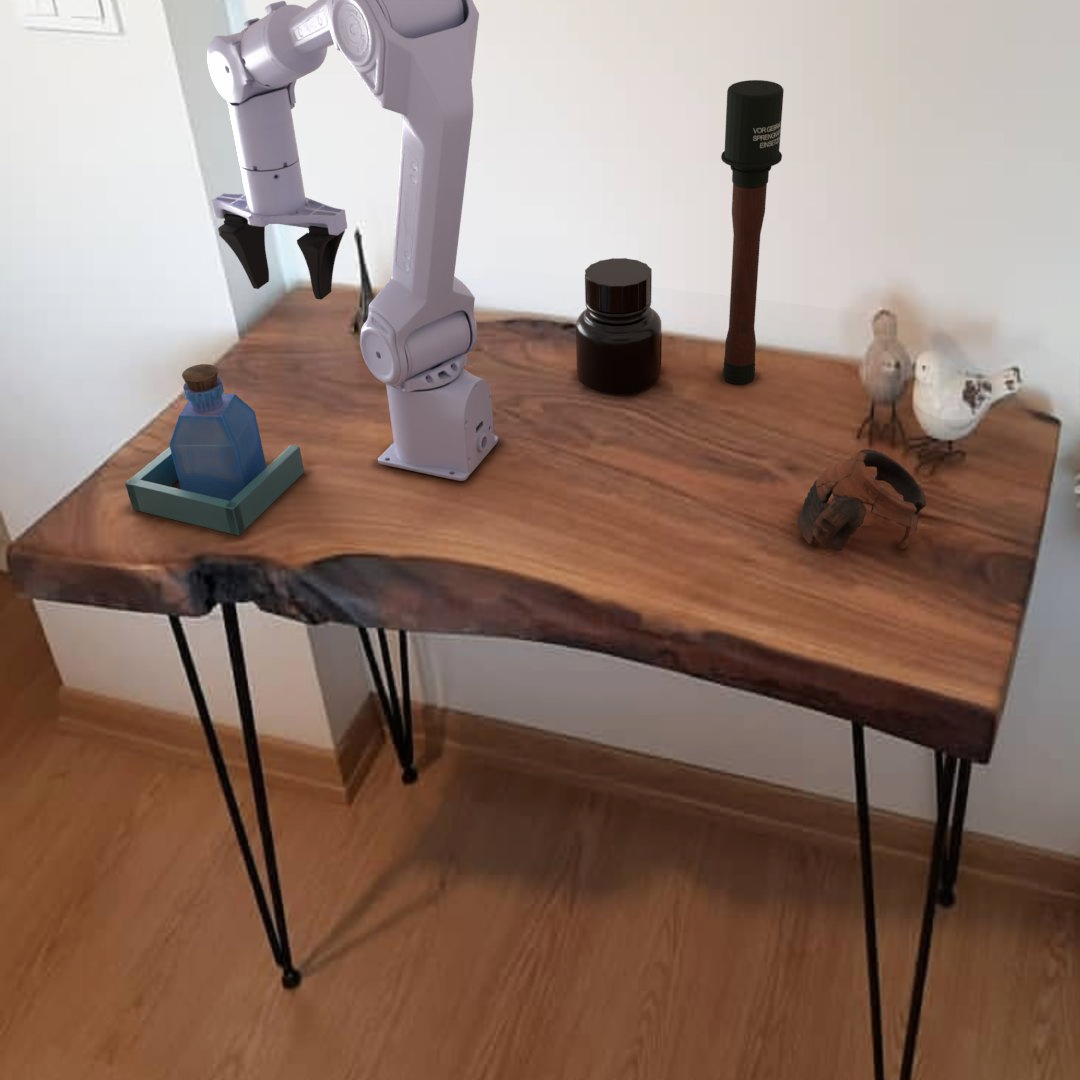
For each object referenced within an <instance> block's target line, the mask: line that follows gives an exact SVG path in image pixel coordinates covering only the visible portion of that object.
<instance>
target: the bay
mask: <svg viewBox="0 0 1080 1080" xmlns="http://www.w3.org/2000/svg"><path fill="white" fill-rule="evenodd" d="M302 457H303V456H302V453H301V447H300V446H299V445H295V444H290V445H289V446H288V447H287V448H286V449H285V450H284V451H283V452H281V453H280V454H279V455H278V456H277V457H276V458H275V459H274V460H273V461H271V463H270V464H268V465H267V466H266V468H265V469H264V470H263V471H262V472H261V473H260V474H259V475H258V476H257V477H256V478H255V479H254V480H252V481H251V482H250V483H249V484H248V485H247V486H246V487H245V488H244V489H243V490H242V491H241V492H239V493H238V494H237V495H236V496H235V497H234V498H233V499H232V500H231V501H228V500H223V499H219V498H215V497H211V496H207V495H202V494H198V493H194V492H190V491H185V490H181V488H176V487H172V486H173V485H174V484H175V483H177V482H178V481H179V480H178V476H177V472H176V468H175V464H174V461H173V457H172V453H171V449H170V446H169V447H167V448H166V449H165V450H164V451H163V452H161V453H160V454H159V455H158V456H156V457H155V458H154V459H153V460H151V461H150V462H149V463H148V464H147V465H145V466H144V467H143V468H142V469H141V470H139V471H138V472H137V473H136V474H134V475H133V476H131V477H130V478H129V479H128V480H127V481H126V482H124V483H125V484H124V485H125V488H126V491H127V494H128V498H129V501H130V505H131V508H132V510H134V511H137V512H141V513H146V514H148V515H149V514H150V515H154V516H158V517H162V518H164V519H165V518H166V519H168V520H169V519H170V520H173V521H178V522H182V523H186V524H190V525H194V526H198V527H201V528H206V529H211V530H215V531H218V532H223V533H226V534H230V535H233V536H240V535H241V534H243V533H244V532H245V531H246V529H248V528H249V526H251V525H252V524H253V523H254V521H256V520H257V519H258V518H259V517H260V516H262V514H263V513H264V512H265V511H266V510H268V508H269V507H271V505H272V504H273V503H275V502H276V501H277V500H278V498H280V497H281V496H282V495H283V494H284V493H285V492H286V491H287V490H288V489H289V488H290V487H291V486H292V485H293V484H294V483H295V482H296V481H297V480H298V479H299V478H300V477H302V475H303V474H304V473H305V467H304V462H303V458H302Z"/></svg>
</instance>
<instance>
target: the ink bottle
mask: <svg viewBox="0 0 1080 1080" xmlns="http://www.w3.org/2000/svg"><path fill="white" fill-rule="evenodd" d="M652 271H653V270H652V268H651V267H650V266H649V265H648V264H647V263H645V262H643V261H640V260H638V259H631V258H627V257H623V258H618V257H616V258H614V257H612V258H607V259H601V260H598V261H596V262H594V263H590V265H589V266H588V267H587V268H585V270H584V273H585V274H584V299H585V307H586V309H584V310H583V311H582V312H581V313H580V314H579V316H578V318H577V319H576V322H575V352H576V353H575V354H576V376H577V379H578V381H579V382H580V383H581V384H582V385H583V386H584V387H586V388H587V389H590V390H591V391H595V392H598V393H601V394H607V395H616V396H617V395H618V396H619V395H620V396H622V395H633V394H636V393H640V392H643V391H645V390H647V389H649V388H650V387H651V386H653V385H654V384H655V383H656V382H657V381H658V380H659V378H660V376H661V368H662V348H663V347H662V344H663V343H662V342H663V341H662V340H663V339H662V338H663V336H662V320H661V317H660V315H659V313H657V311H656V310H654V309H653V308H652V289H653V287H652V280H653V279H652V277H653V276H652V275H653V274H652V273H653V272H652Z"/></svg>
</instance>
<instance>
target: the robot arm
mask: <svg viewBox="0 0 1080 1080" xmlns="http://www.w3.org/2000/svg"><path fill="white" fill-rule="evenodd" d="M264 10H265V14H266V15H265V16H264V17H262V18H259V17H255V18H251V19H248V20H246V21H245V22H244V23H243V30H241V31H240V32H236V33H232V34H227V35H215V36H213V38H212V40H211V41H210V43H208V46H207V50H206V60H207V61H206V62H207V67H208V71H209V75H210V77H211V80H212V82H213V85H214V87H215V88H216V90H217V92H218V93H219V94H220V96H221V97H222V98H223V99H224V100H225V101H226V102H227V105H228V111H229V117H230V122H231V127H232V132H233V138H234V142H235V148H236V152H237V158H238V163H239V168H240V174H241V179H242V184H243V185H242V186H243V189H244V193H226V192H222V193H220V194H218V195H217V196H215V197H214V198H212V199H211V200H210V201H211V206H212V210H213V215H214V218H215V219H221V220H223V223H222V225H220V226H218V227H217V231H218V235H219V237H220V238H221V239H222V240H223V241H224V242H225V243H226V244H227V245H228V247H229V248H230V249H231V251H232V252H233V253H234V254H235V257H236V258H237V259H238V261H239V262H240V264H241V266H242V268H243V270H244V272H245V274H246V276H247V278H248V281H249V283H250V284H251V286H252V289H255V290H259V289H261V288H263V286H265V285H266V284H268V283H269V282H270V270H269V264H268V257H267V251H266V237H265V236H266V233H265V232H266V227H267V226H268V225H282V226H283V225H284V226H288V227H289V226H290V227H296V228H297V227H298V228H304V229H308V232H306V233H305V234H303V235H302V236H300V237H299V238H297V239H296V244H297V246H298V248H299V250H300V251H301V254H302V256H303V258H304V261H305V263H306V266H307V269H308V272H309V273H308V274H309V280H310V283H311V289H312V293H313V295H314V298H315V300H324V298H326V297H327V296H329V295H330V294H331V293H332V286H333V285H332V283H333V274H334V269H335V263H336V257H337V254H338V251H339V247H340V244H341V242H342V240H343V237H344V234H345V233H346V230H347V229H348V222H347V216H346V215H347V214H346V210H345V209H344V208H343V209H342V208H337V207H333V206H330V205H327V204H324V203H322V202H319V201H317V200H315V199H312V198H309V197H306V193H305V187H304V182H303V181H304V180H303V175H302V169H301V162H300V157H299V151H298V145H297V137H296V131H295V125H294V119H293V112H292V110H293V109H294V108H295V107H296V105H295V104H297V102H296V94H295V88H296V87H295V86H296V84H297V81H298V80H299V79H301V78H303V77H305V76H307V75H309V74H311V73H312V72H315V71H317V70H318V69H319V68H320V67H321V66H322V65H323V63H324V62H325V59H326V57H327V54H328V47H331V46H334V48H335V49H336V50H337V51H339V52H341V53H342V55H343V57H345V59H346V60H347V62H348V64H349V65H350V67H352V69H353V70H354V72H355V73H356V74H357V75H358V77H359V78H360V79H361V81H362V82H363V84H364V85H365V86H366V88H367V89H368V90H369V92H370V93H371V95H372V96H373V97H374V99H375V100H376V101H377V103H378V104H379V105H380V107H381V108H382V109H385V110H387V111H391V112H394V113H397V114H400V116H401V118H402V126H401V139H400V140H401V141H400V142H401V143H400V154H399V169H398V180H397V181H398V183H397V195H396V197H397V198H396V212H395V224H394V240H393V251H392V252H393V253H392V269H391V278H390V279H389V280H388V281H387V283H386V284H385V285H384V286H383V288H382V289H380V291H379V292H378V293H377V294H376V295H375V297H374V298H373V299H372V300H371V302H370V303H369V304H368V313H367V319H366V321H365V322H364V324H363V325H362V327H361V330H360V337H359V346H360V347H359V348H360V352H361V356H362V358H363V360H364V363H365V365H366V367H367V368H368V370H369V371H370V373H371V374H372V375H373V377H375V378H376V379H377V380H379V381H380V382H382V383H383V384H384V385H385V386H386V387H385V388H386V393H387V402H388V408H389V416H390V425H391V430H392V438H393V442H392V443H391V444H390V445H389V446H388V447H387V449H385V451H384V452H383V453H382V454H381V455H379V457H378V458H377V463H378V464H379V465H383V466H387V467H393V468H398V469H403V470H405V471H406V470H407V471H411V472H415V473H419V474H425V475H430V476H434V477H440V478H445V479H449V480H453V481H458V482H464V481H466V480H467V479H468V478H469V477H470V475H472V473H473V472H474V471H475V469H477V467H478V466H479V465H480V464H481V463H482V462H483V460H484V459H485V458H486V457H487V455H488V454H489V453H490V452H491V451H492V450H493V448H494V447H495V446H496V445H497V443H498V442H499V436H497V435H495V423H494V413H493V399H492V390H491V386H490V384H489V383H488V381H487V380H486V379H484V378H482V377H478V376H476V375H474V374H472V373H471V372H469V371H467V370H466V369H465V368H464V367H465V366H467V365H468V353H470V352H471V351H473V349H474V348H475V346H476V345H477V340H478V326H477V325H478V324H477V320H476V317H475V309H474V308H475V300H476V298H475V296H474V294H473V293H472V291H471V290H470V289H469V287H468V286H467V285H466V284H465V283H464V282H463V281H461V279H459V278H458V277H456V276H455V272H456V264H457V257H458V256H457V255H458V248H459V247H458V246H459V239H460V231H461V230H460V229H461V222H462V221H461V220H462V214H463V206H464V205H463V204H464V197H465V196H464V195H465V187H466V178H467V171H468V161H469V155H470V153H469V152H470V144H471V136H472V128H473V118H474V94H473V93H474V92H473V83H472V82H473V81H472V80H473V73H474V66H475V65H474V64H475V56H476V55H475V54H476V44H477V37H478V29H479V27H478V26H479V21H480V20H479V19H480V13H479V10H478V9H477V7H476V5H475V3H474V1H473V0H316V1H314V2H313V3H311V4H310V5H309V6H307V7H305V6H302V5H298V4H287V1H286V0H280V1H276V2H273V3H269V4H267V5H266V6H265V7H264Z"/></svg>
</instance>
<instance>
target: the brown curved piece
mask: <svg viewBox="0 0 1080 1080" xmlns="http://www.w3.org/2000/svg"><path fill="white" fill-rule="evenodd" d="M872 467H873V468H876V475H875V476H874V477H873V475H872V474H871V473H870V472H869V470H868V468H872ZM821 473H822V474H821V475H820V476H819V477H818V478H817V479H816V480H815V481H814V483H813V484H812V486H810V489H809V491H808V492H807V496H806V497H805V498H804V500H803V501H804V502H803V504H802V507H801V510H800V511H799V513H798V516H797V525H798V530H799V532H800V534H801V536H802V537H803V539H804V540H805V541H806V543H807V544H808V545H811V546H812V545H813V544H814V543H815V541H817V542H818V543H820V544H821V546H822V547H823V548H825V549H828V550H831V551H836V552H837V551H838V552H841V551H842V550H843V548H844V547H845V546H846V545H847V542H848V541H849V539H850V538H851V536H853V535H854V534H855V533H856V532H857V530H858V529H860V528H861V527H862V526H863V524H864V522H865V518H866V515H867V507H866V506H865V505H868V506H869V505H870V506H871V509H870V513H871V514H873V515H875V516H878V517H881V518H882V519H884V520H886V521H888V522H894V523H896V524H897V525H900V526H903V527H905V532H904V535H903V537H902V539H901V540H900V542H899V544H898V548H899V549H900V550H904V549H906V547H908V545H909V543H910V542H911V541H912V540H913V538H914V536H915V535H916V534H917V533H916V532H917V531H918V524H919V517H920V512H921V511H922V510H923V509H924V508H925V507H926V506H927V499H926V495H925V492H924V490H923V488H922V487H921V486H920V484H918V482H917V480H916V479H915V477H914V476H913V475H912V474H911V473H909V471H908V470H907V469H906V468H905V467H903V466H902V465H901V464H900V463H899V462H898V461H896V460H895V459H893V458H891V457H890V456H888V455H886V454H885V453H883V452H881V451H877V450H875V449H869V448H868V449H867V448H865V449H861V450H859V451H858V452H857V453H856V455H854V457H852V458H850V459H845V460H841V461H838V462H836V463H832V464H831V465H830V466H829V467H828V468H826V469H824V471H823V472H821ZM878 481H879V482H880V481H881V482H885V483H886V484H888V485H890V486H891V487H892V489H893V490H894V491H895V492H896V493H897V494H899V495H901V496H902V499H900V498H899V497H897V496H896V495H893V494H892V493H891V492H889V491H888V490H887V489H885V488H884V487H882V486H881V484H879V483H878ZM831 496H833V498H832V499H831V502H830V503H828V502H829V500H830V498H831ZM864 504H865V505H864Z"/></svg>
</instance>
